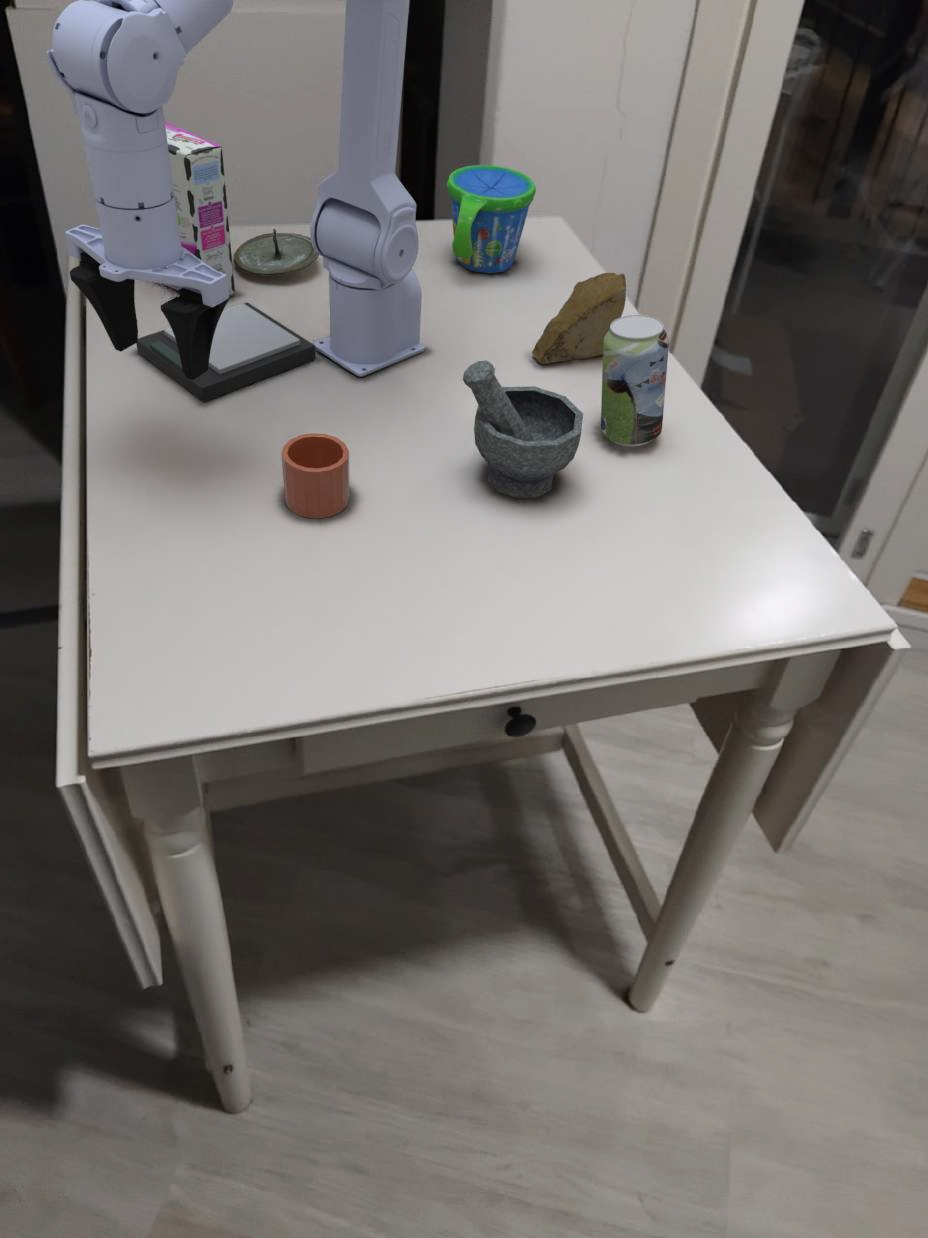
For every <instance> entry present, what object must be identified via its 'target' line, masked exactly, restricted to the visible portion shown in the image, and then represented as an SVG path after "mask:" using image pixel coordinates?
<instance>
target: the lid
mask: <svg viewBox="0 0 928 1238" xmlns="http://www.w3.org/2000/svg"><path fill="white" fill-rule="evenodd" d="M319 256H320V255H319V254H318V253H317V252H316V251H315V250H314V248H313V245H312V243H311V237H309V236H307V235H303V234H298V233H294V232H277V230H276V228H273V229H272V232H268V233H263V234H260V235H257V236H254V237H252V238H249V239H247V240H246V241H244V242H243V243H242V244H240V245H239V246H238V248H237V249H236V250H235V251H234V252H233V254H232V262H233V263H234V265H235V266H236V267H237V268H238V269H239V270H241V271H243V272H245V273H248V274H250V275H254V276H259V277H279V276H285V275H289V274H294V273H297V272H299V271H302V270H304V269H306V268H308V267H310V266H311V265H312V264H314V263H315V262H316V261H317V260H318V258H319Z"/></svg>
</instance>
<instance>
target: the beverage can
mask: <svg viewBox="0 0 928 1238" xmlns="http://www.w3.org/2000/svg"><path fill="white" fill-rule="evenodd" d="M669 347H670V338H669V335H668V333H667V331H666V330H665V324H664V323H663V321H661V320H660V319H659V318H657V317H654V316H651V315H647V314H645V315H644V314H629V315H624V316H621V317H620V318H618V319H616V320H614V321H613V322H612V323H611V325H610V329H609V331H608V332H607V333H606V335H605V337H604V340H603V354H602V371H601V372H602V375H601V404H600V405H601V406H600V432H601V434H602V435H603V436H604V437H605V438H606V439H608V440H610V441H611V442H612V443H614V444H616V445H619V446H624V447H639V446H640V447H641V446H643V445H646V444H648V443H649V442H651V441H653V440H655V439H657V438H658V437H659V436H660V434H661V433H662V432H663V431H662V430H663V423H664V422H663V421H664V409H665V397H666V383H667V371H668V360H669Z"/></svg>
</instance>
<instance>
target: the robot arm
mask: <svg viewBox="0 0 928 1238" xmlns="http://www.w3.org/2000/svg"><path fill="white" fill-rule="evenodd" d="M233 6H234V0H98V1H95V0H76V1H73V2H72V3H69V5H68V6H66V8H64V9H63V10H62V11H61V13H60V15H59V16H58V17H57V19H56V21H55V23H54V26H53V29H52V33H51V34H52V35H51V49H49V50H47V51H46V57H47V62H48V64H49V67H50V69H51V71H52V73H53V75H54V76H55V78H56V79H57V81H58V82H59V83H60V84H61V85H62V86H63V87H64V88H65V89H66V90H67V92H68V94H69V96H70V99H71V104H72V109H73V113H74V114H75V115H77V117H78V120H79V126H80V131H81V137H82V142H83V147H84V151H85V157H86V162H87V167H88V171H89V178H90V182H91V188H92V194H93V199H94V203H95V208H96V213H97V219H98V224H99V227H93V226H91V225H86V224H83V223H82V224H79V225H77V226H76V227H73V228H71V229H68V230H66V231H65V232H64V235H65V239H66V244H67V249H68V254H69V256H70V257H73V258H76V259H80V261H79V265H78V266H75V267H73V268H71V269H70V270H69V277H70V280H71V282H72V283H73V284H74V285H75V286H76V288H78V289H79V290H80V292H81V293H82V294H83V295H84V297H85V298H86V299H87V300H88V302H89V303H90V305H91V306H92V308H93V309H94V311H95V313H96V315H97V316H98V318H99V320H100V323H102V326H103V327H104V329H105V332H106V334H107V336H108V338H109V340H110V342H111V344H112V346H113V347H114V349H115V350H116V351H118V352H123V351H125V350H127V349H129V348H130V347H132V346H134V345H136V343H137V342H138V338H139V327H138V326H139V325H138V319H137V310H136V303H135V302H136V301H135V298H136V297H135V287H136V286H135V285H136V283H135V282H136V281H139V282H140V281H141V282H147V283H155V284H161V285H164V286H167V287H168V286H169V287H168V288H170V287H172V288H175V289H177V290H179V292H178V295H179V296H175V297H173V298H171V299H170V300H167V301H166V302H164V303H161V304H160V311H161V313H162V314H163V316H164V318H165V319H166V321H167V323H168V325H169V327H170V328H172V331H173V333H174V336H175V339H176V342H177V345H178V350H179V355H180V360H181V365H182V369H183V372H184V374H185V376H186V378H188V379H191V380H194V379H196V378H197V377H199V376H200V375H202V374H203V373H205V372H207V371H208V365H209V358H210V351H211V346H212V341H213V337H214V333H215V330H216V327H217V324H218V321H219V319H220V316H221V314H222V312H223V310H225V309H226V306H227V304H228V302H229V300H230V297H229V293H228V283H227V275H226V274H223V273H221V272H218V271H216V270H214V269H213V268H211V267H210V266H208V265H207V264H205V263H204V262H203V261H201V260H200V259H199V258H197V257H196V256H194V255H193V254H192V253H190V252H189V251H188V250H186V249H185V248H183V247H182V246H181V240H180V232H179V225H178V217H177V210H176V203H175V195H174V188H173V181H172V173H171V166H170V158H169V151H168V143H167V135H166V128H165V122H166V121H165V113H164V107H163V106H164V105H166V104H167V103H168V102H169V101H170V99H171V98H172V96H173V93H174V90H175V87H176V83H177V79H178V73H179V70H180V68H181V67H182V66H183V65H184V64H185V61H184V59H185V58H186V57H187V55H188V54H189V53H190V52H191V51H192V50H193V49H194V48H195V47H196V46H197V45H198V44H199V43H201V41H202V40H203V39H204V38H205V37H206V36H207V35H208V34H209V33H211V32H212V31H213V30H214V29H215V28H216V27H217V26H218V25H219V24H220V23H221V22H222V21H223V20H224V19H225V18H226V17H227V16H228V15H229V14H230V13H231V11H232V9H233ZM409 9H410V0H345V17H344V19H345V20H344V39H343V57H342V58H343V60H342V78H341V79H342V81H341V103H340V120H339V121H340V124H339V144H338V166H337V170H336V171H334V172H333V173H331V174H330V175H328V176H327V177H326V178H324V179H323V180H321V182H319V184H318V185H317V201H316V205H315V208H314V211H313V214H312V217H311V221H310V228H309V236H310V237H309V238H311V243H312V245H313V248H314V250H315V251H316V252H317V253H318V254H319V256H320V257H322V268H323V269H325V270H326V271H328V293H329V294H328V295H329V297H328V298H329V336H328V337H325V338H323V339H320V340H318V341H315V342H313V344H314V345H315V351H318V352H319V353H321V354H322V355H324V356H326V357H327V358H329V359H330V360H331V361H333V362H335V363H336V364H338V365H339V366H341V367H342V368H344V369H345V370H347V371H349V372H350V373H352V374H354V375H355V376H357V377H366V376H367V375H369V374H371V373H374V372H377V371H379V370H381V369H384V368H386V367H389V366H391V365H393V364H396V363H398V362H401V361H404V360H405V359H408V358H410V357H413V356H415V355H417V354H420V353H423V352H424V351H425V345H424V344H421V343H420V336H421V318H422V296H423V295H422V288H421V283H420V280H419V278H418V276H417V273H416V272H415V270H414V269H413V267H414V265H415V263H416V262H417V261H416V260H417V258H418V253H419V248H420V247H419V246H420V240H419V239H420V238H419V233H418V227H417V221H416V217H417V216H416V214H417V203H416V201H415V200H414V198H413V197H412V195H411V194H410V193H409V191H408V190H407V189H406V188H405V186H404V185H403V183H402V182H401V181H400V178H398V176H397V174H396V167H397V165H396V164H397V156H398V155H397V153H398V141H399V130H400V116H401V106H402V95H403V93H402V92H403V82H404V70H405V60H406V59H405V58H406V47H407V36H408V35H407V33H408V23H409V22H408V21H409ZM172 288H171V289H172Z"/></svg>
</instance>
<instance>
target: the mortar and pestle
mask: <svg viewBox="0 0 928 1238" xmlns="http://www.w3.org/2000/svg"><path fill="white" fill-rule="evenodd" d="M495 373H496V368H495V366H494V365H493V363H491V362H490V361H488V360H478V361H475V362H474V363H472V364H470V365H469V366H468V367H467V368H466V369H465V370H464V371H463V375H462V381H463V383H464V385H466V387H468V388H469V389H470V390H471V392H472V395H473V397H474V399H475V401H476V404H477V408H476V411H475V416H474V424H473V425H474V426H473V432H474V433H473V435H474V445H475V446H476V449H477V451H478V452H479V454H480V456H481V457H482V458H483V460H484V461H485V462H486V463H487V464H488V465H489V469H488V470H489V471H488V474H487V475H488V476H487V481H489V483H490V484H491V485H492V486H493V487H494V489H495V490H496V491H497V492H498V493H502V494H504V495H507V496H510V497H513V498H516V499H526V498H527V499H528V498H530V499H531V498H538V497H541V496H542V495H544V494H546V493H548V492H549V491H550V490H552V486H553V479H554V475H556V474H557V473H559V472H560V471H563V470H564V469H565V468H567V466H568V465H569V464H570V463H571V462H572V461H573V460H574V458H575V456H576V453H577V451H578V448H579V446H580V442H581V437H582V429H583V420H584V413H583V412H582V411H581V410H580V409H579V408H578V407H577V406H576V405H575V404H574V403H573V401H571V400H570V399H569V398H567V396H565V395H563V394H560V393H556V392H553V391H550V390H547V389H544V388H541V387H538V386H534V385H533V386H502V385H501V384H500V382H499V380H498V378H497V377H496V375H495Z"/></svg>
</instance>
